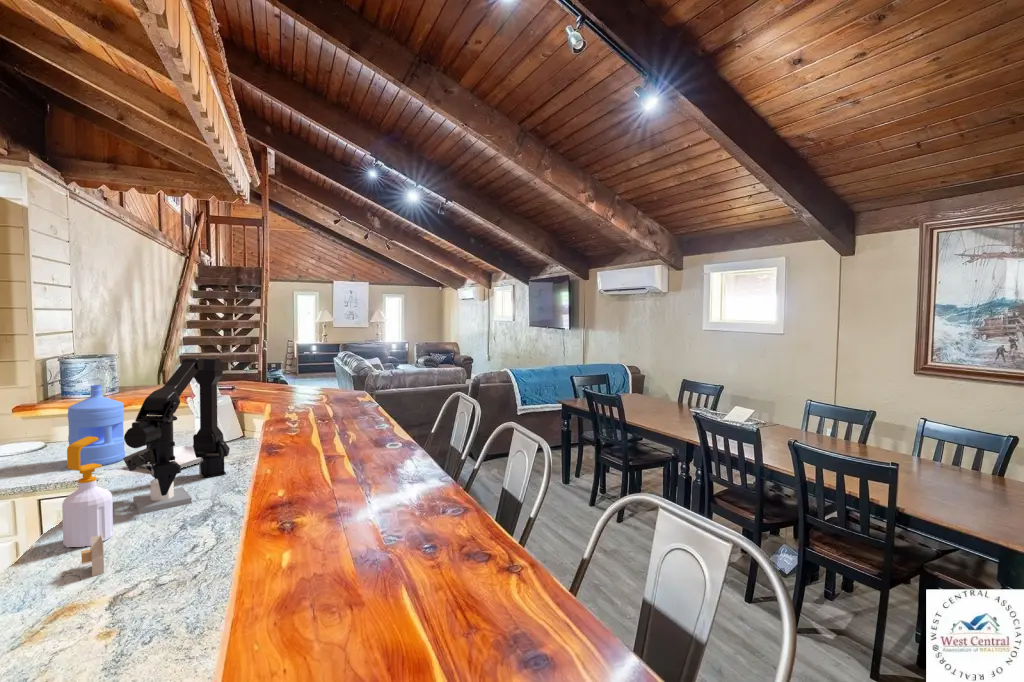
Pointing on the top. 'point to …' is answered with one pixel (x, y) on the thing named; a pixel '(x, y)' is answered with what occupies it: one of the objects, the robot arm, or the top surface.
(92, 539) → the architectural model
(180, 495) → the post base
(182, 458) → the salad plate
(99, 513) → the soap bottle
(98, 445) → the water jug
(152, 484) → the cap
